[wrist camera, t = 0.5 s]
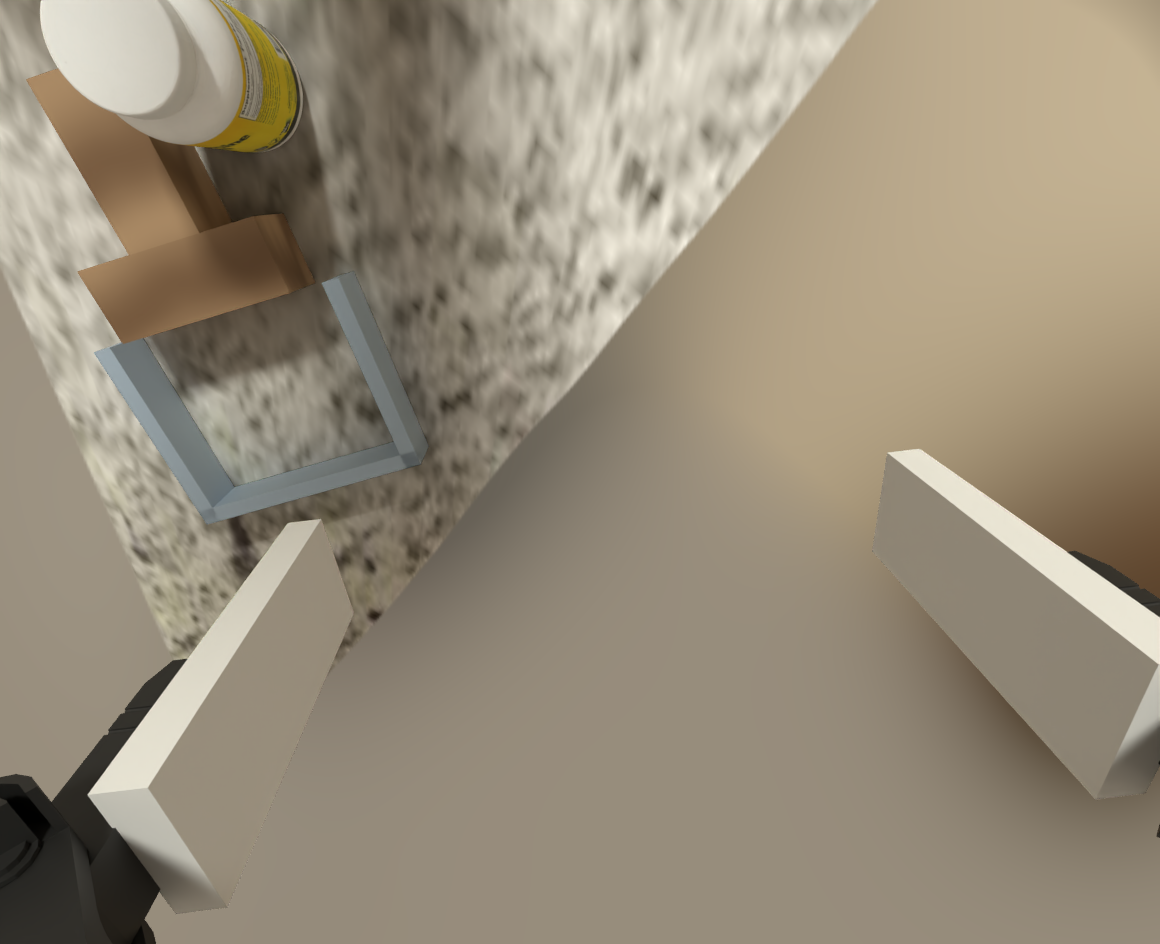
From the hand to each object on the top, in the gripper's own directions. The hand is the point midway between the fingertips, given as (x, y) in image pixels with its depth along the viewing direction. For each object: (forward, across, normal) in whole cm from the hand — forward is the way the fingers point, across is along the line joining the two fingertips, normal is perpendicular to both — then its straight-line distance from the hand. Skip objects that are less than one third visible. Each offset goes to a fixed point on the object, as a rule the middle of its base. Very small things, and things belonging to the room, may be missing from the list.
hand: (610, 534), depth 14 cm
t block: (+26, -21, +8) cm, 35 cm away
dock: (+26, -19, -3) cm, 32 cm away
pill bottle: (+26, -16, +14) cm, 34 cm away
